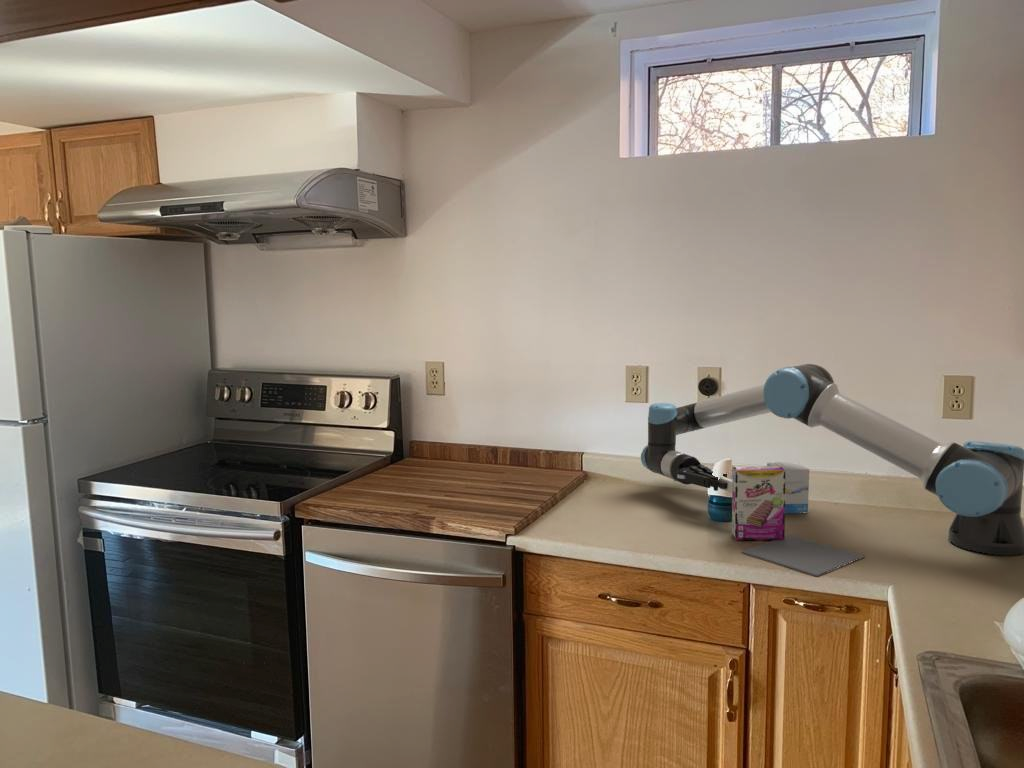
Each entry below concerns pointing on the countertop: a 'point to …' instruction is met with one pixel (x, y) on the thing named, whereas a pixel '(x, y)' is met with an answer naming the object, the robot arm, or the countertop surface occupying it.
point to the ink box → (795, 486)
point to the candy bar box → (758, 502)
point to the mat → (802, 555)
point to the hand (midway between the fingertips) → (738, 488)
